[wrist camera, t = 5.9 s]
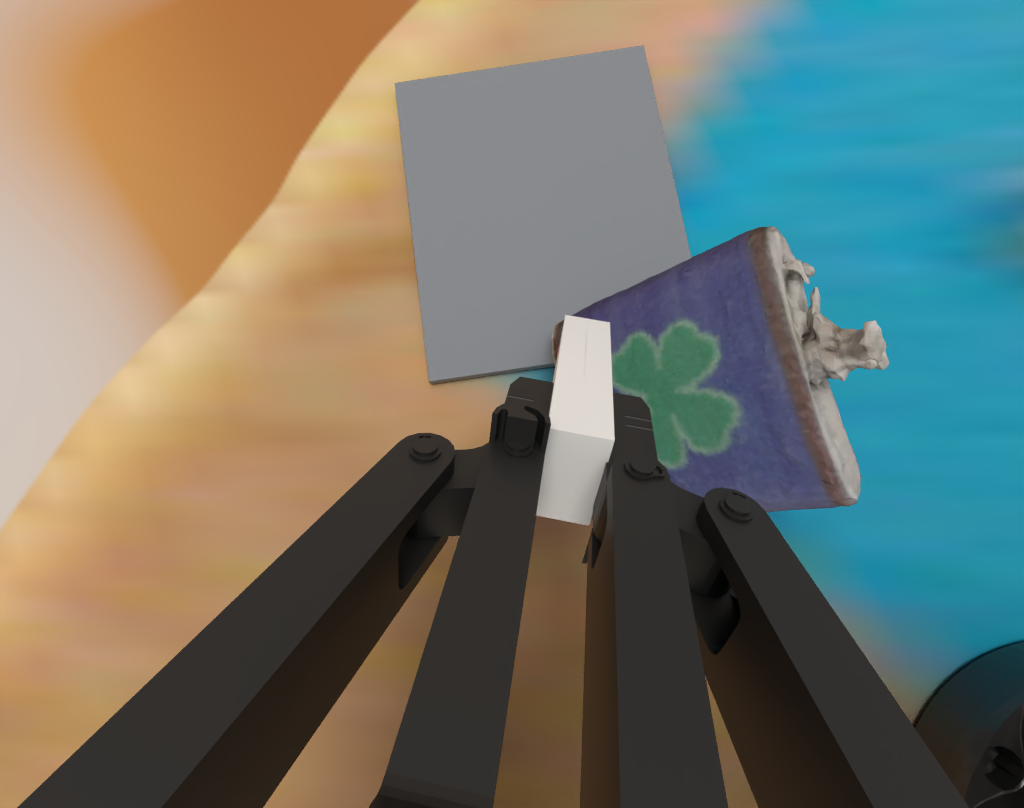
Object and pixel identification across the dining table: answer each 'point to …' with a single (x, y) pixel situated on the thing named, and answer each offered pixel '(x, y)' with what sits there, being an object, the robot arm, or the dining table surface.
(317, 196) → the dining table surface
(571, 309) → the mat
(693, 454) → the flask
